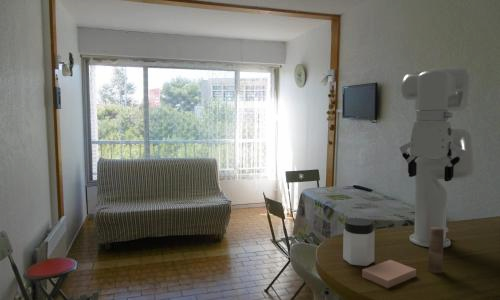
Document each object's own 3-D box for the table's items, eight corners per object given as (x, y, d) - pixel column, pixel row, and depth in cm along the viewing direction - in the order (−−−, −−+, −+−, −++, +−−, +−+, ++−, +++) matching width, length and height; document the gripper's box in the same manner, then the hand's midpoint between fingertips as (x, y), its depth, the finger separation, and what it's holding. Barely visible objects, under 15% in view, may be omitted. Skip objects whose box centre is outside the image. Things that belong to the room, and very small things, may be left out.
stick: (431, 267, 102) (433, 226, 101) (444, 271, 100) (445, 228, 99) (426, 270, 100) (427, 228, 99) (438, 274, 98) (440, 231, 97)
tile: (390, 259, 103) (362, 269, 97) (416, 269, 97) (387, 280, 90) (390, 267, 104) (362, 278, 97) (415, 277, 97) (387, 290, 90)
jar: (379, 264, 105) (380, 224, 104) (354, 267, 103) (354, 226, 102) (362, 253, 113) (362, 216, 112) (339, 256, 111) (339, 218, 110)
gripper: (471, 116, 94) (468, 180, 96) (407, 116, 108) (406, 173, 110) (460, 117, 90) (457, 184, 92) (394, 117, 103) (393, 176, 105)
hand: (429, 178), depth 101 cm, fingers open, 9 cm apart
